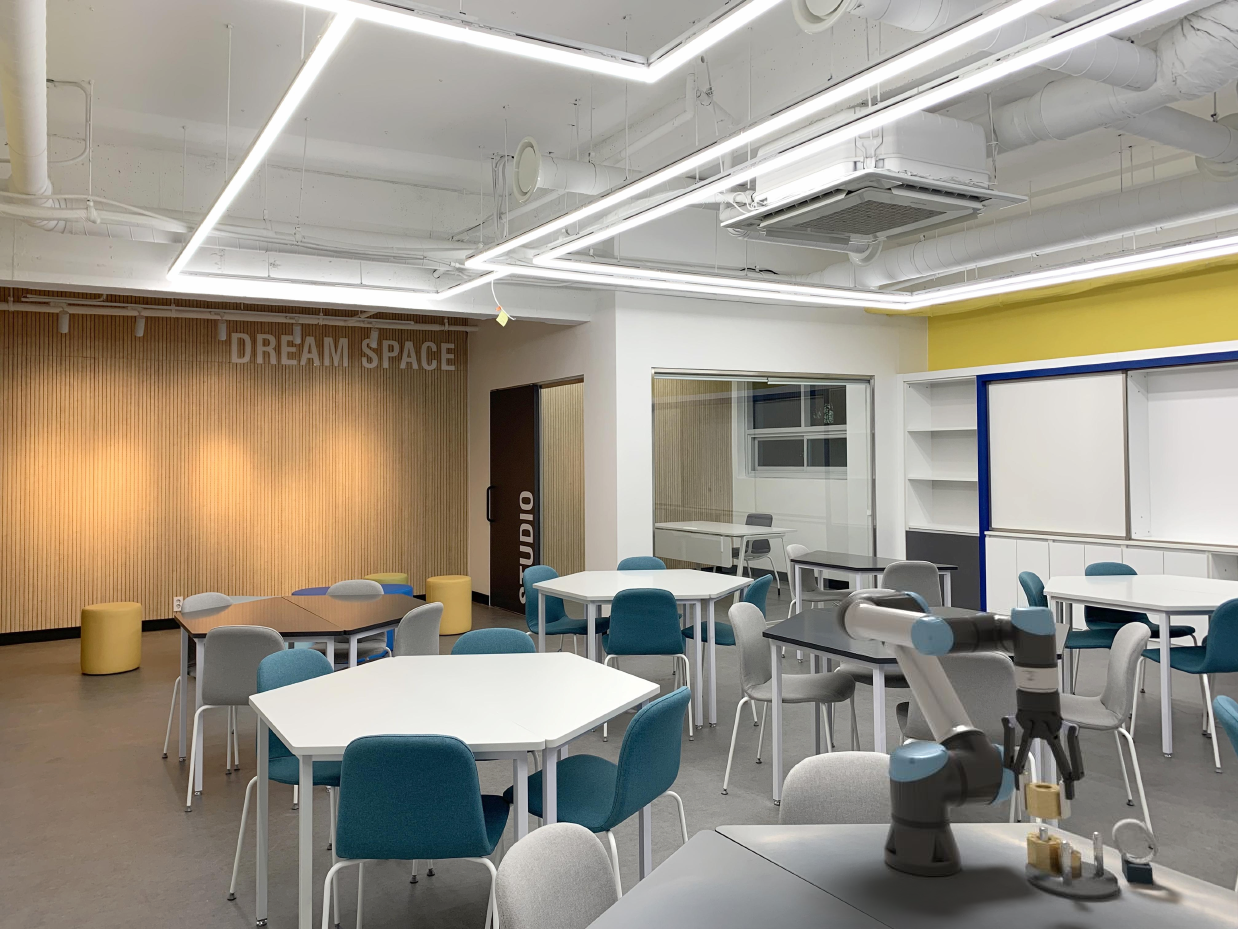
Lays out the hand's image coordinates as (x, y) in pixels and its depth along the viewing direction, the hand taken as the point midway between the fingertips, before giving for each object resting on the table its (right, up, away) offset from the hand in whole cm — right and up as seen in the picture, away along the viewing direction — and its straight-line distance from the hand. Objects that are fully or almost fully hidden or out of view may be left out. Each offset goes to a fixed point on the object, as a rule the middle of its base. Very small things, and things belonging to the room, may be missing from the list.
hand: (1045, 812), depth 160 cm
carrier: (+8, -16, +5) cm, 18 cm away
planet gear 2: (+5, -15, +10) cm, 19 cm away
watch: (+21, -16, +6) cm, 27 cm away
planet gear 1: (0, 0, 0) cm, 0 cm away
